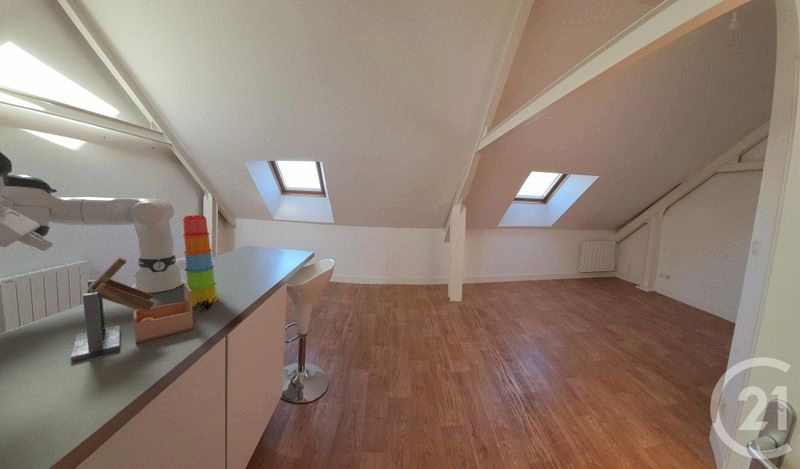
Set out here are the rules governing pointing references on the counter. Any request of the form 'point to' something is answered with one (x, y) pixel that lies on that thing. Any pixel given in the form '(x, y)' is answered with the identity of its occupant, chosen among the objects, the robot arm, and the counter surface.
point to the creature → (206, 306)
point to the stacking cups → (198, 260)
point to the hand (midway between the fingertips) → (49, 247)
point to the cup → (165, 319)
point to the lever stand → (95, 331)
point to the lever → (120, 290)
